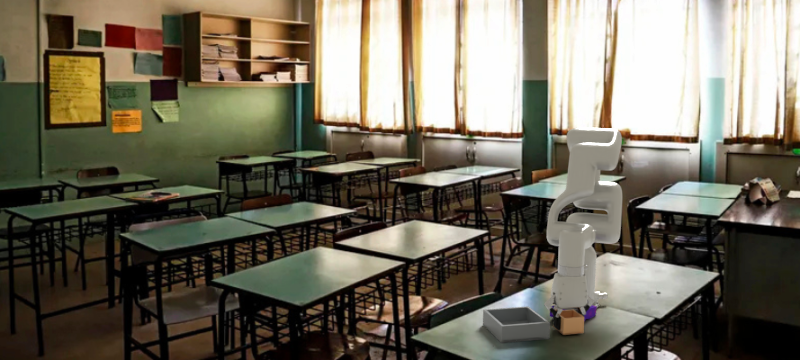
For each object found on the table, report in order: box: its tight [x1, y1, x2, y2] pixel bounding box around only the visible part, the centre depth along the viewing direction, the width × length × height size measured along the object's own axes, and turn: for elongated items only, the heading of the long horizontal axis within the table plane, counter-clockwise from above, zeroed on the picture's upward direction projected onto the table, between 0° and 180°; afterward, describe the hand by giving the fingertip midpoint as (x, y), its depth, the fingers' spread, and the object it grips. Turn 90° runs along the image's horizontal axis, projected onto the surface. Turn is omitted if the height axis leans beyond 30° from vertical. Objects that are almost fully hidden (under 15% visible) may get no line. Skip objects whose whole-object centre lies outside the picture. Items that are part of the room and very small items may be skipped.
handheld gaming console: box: [549, 304, 598, 322], centre depth 217 cm, size 9×5×15 cm
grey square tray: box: [482, 305, 551, 344], centre depth 203 cm, size 15×15×5 cm
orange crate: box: [552, 309, 585, 336], centre depth 203 cm, size 7×7×5 cm
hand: (568, 326), depth 203 cm, fingers closed on orange crate, 6 cm apart
